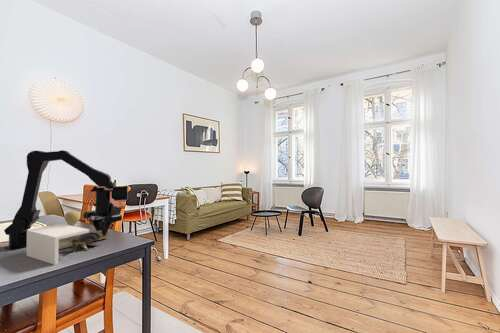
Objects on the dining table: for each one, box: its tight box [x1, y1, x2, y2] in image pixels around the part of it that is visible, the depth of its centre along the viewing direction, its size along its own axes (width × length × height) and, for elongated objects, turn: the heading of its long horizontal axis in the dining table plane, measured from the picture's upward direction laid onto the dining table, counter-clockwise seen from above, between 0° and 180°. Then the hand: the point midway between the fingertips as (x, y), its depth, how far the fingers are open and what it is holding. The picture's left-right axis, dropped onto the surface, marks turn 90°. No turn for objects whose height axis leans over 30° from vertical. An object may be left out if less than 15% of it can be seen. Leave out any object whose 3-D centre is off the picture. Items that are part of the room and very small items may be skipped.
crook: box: [59, 229, 110, 250], centre depth 101 cm, size 10×24×4 cm, turn 144°
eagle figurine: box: [70, 232, 100, 253], centre depth 99 cm, size 8×7×9 cm
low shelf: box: [25, 223, 90, 266], centre depth 92 cm, size 18×12×10 cm, turn 66°
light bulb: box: [64, 210, 81, 227], centre depth 124 cm, size 6×6×10 cm
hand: (102, 235), depth 111 cm, fingers closed on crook, 3 cm apart
